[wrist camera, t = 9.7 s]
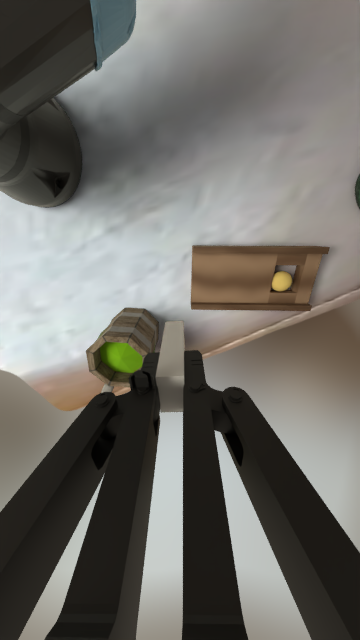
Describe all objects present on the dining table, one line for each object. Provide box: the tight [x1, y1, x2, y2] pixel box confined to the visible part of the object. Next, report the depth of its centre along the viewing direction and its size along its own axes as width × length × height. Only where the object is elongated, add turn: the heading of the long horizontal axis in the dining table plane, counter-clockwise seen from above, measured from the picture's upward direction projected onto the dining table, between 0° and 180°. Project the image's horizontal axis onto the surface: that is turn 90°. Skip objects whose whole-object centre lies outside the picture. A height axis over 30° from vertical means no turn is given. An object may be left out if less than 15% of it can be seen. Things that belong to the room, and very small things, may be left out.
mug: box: [86, 308, 159, 393], centre depth 37 cm, size 16×11×12 cm
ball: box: [271, 271, 292, 291], centre depth 35 cm, size 4×4×4 cm
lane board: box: [191, 246, 330, 311], centre depth 35 cm, size 11×22×4 cm, turn 90°
